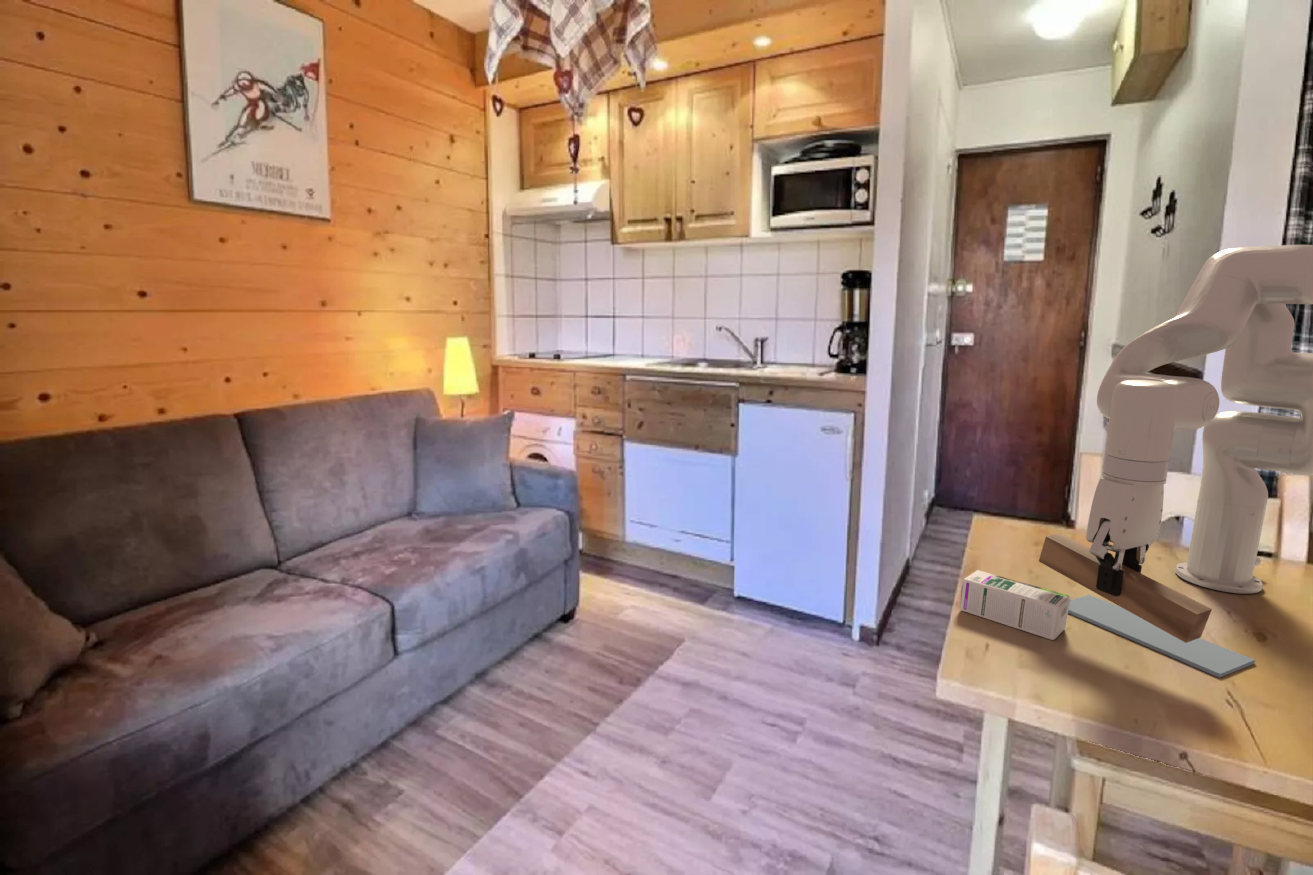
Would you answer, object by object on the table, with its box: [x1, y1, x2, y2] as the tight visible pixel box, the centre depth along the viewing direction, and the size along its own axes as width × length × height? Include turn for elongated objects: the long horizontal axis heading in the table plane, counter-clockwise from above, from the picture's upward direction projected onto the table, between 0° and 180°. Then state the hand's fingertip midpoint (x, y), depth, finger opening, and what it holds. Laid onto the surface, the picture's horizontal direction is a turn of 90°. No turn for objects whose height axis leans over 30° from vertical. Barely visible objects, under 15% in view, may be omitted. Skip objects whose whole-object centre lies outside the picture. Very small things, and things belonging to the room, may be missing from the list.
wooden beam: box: [1038, 532, 1213, 643], centre depth 100 cm, size 3×22×4 cm, turn 25°
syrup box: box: [959, 569, 1071, 641], centre depth 110 cm, size 6×6×14 cm
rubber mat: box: [1068, 594, 1256, 679], centre depth 107 cm, size 9×24×1 cm, turn 25°
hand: (1116, 588), depth 100 cm, fingers closed on wooden beam, 3 cm apart
